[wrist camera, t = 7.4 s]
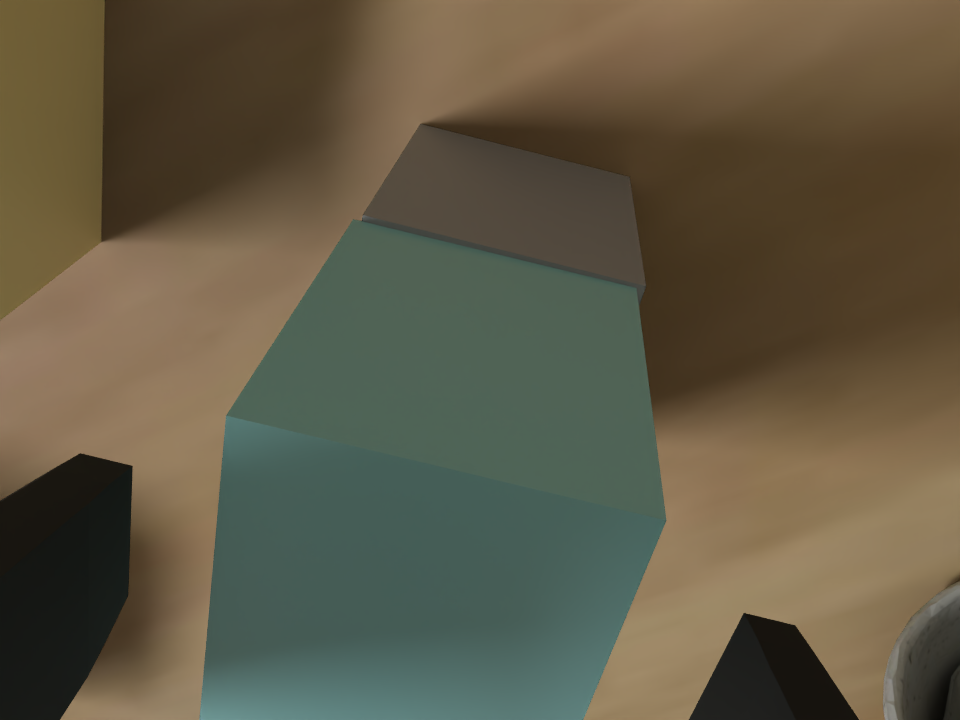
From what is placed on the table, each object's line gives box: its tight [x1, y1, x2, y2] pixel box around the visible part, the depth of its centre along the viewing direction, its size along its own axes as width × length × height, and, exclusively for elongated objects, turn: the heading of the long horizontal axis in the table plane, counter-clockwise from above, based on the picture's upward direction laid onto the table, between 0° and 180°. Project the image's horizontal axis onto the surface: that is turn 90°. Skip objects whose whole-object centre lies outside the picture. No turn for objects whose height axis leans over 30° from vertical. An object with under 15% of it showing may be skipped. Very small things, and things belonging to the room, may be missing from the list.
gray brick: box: [362, 124, 646, 305], centre depth 16 cm, size 6×4×5 cm, turn 167°
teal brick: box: [200, 219, 666, 720], centre depth 12 cm, size 6×4×5 cm, turn 168°
